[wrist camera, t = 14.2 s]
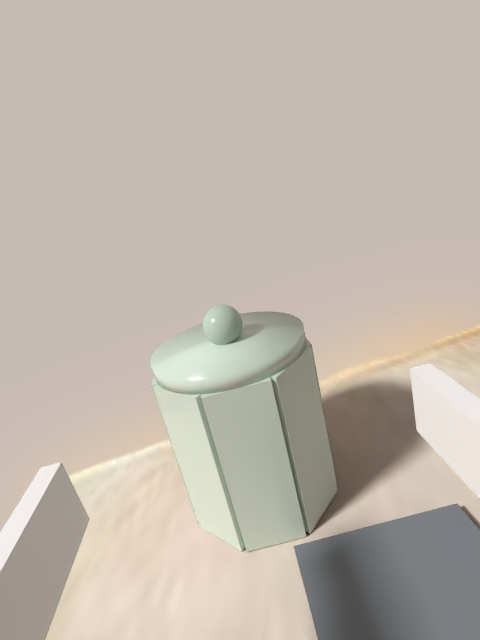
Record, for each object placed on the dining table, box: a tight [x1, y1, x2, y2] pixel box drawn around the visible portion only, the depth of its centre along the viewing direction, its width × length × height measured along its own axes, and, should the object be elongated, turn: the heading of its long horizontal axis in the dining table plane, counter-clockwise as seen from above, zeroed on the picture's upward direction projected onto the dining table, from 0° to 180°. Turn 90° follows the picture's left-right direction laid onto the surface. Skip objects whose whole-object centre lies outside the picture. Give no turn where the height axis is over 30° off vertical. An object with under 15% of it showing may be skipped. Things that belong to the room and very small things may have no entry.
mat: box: [294, 504, 480, 640], centre depth 17 cm, size 10×10×1 cm
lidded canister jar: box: [150, 305, 338, 552], centre depth 25 cm, size 10×10×14 cm
